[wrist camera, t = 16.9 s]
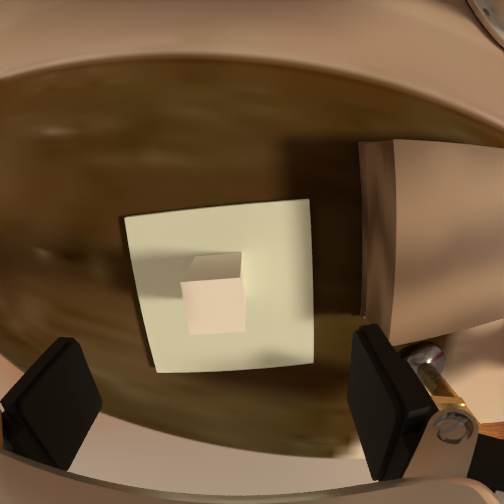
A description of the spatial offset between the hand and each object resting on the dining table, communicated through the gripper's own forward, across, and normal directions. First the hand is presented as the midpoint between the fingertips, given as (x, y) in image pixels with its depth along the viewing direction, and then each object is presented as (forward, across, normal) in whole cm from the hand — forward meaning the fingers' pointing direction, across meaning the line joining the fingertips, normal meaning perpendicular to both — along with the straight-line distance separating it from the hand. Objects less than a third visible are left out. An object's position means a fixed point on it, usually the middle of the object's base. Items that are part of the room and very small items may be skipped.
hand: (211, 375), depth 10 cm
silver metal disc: (+12, -15, +11) cm, 22 cm away
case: (+12, -15, -1) cm, 20 cm away
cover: (+12, +1, +2) cm, 13 cm away
